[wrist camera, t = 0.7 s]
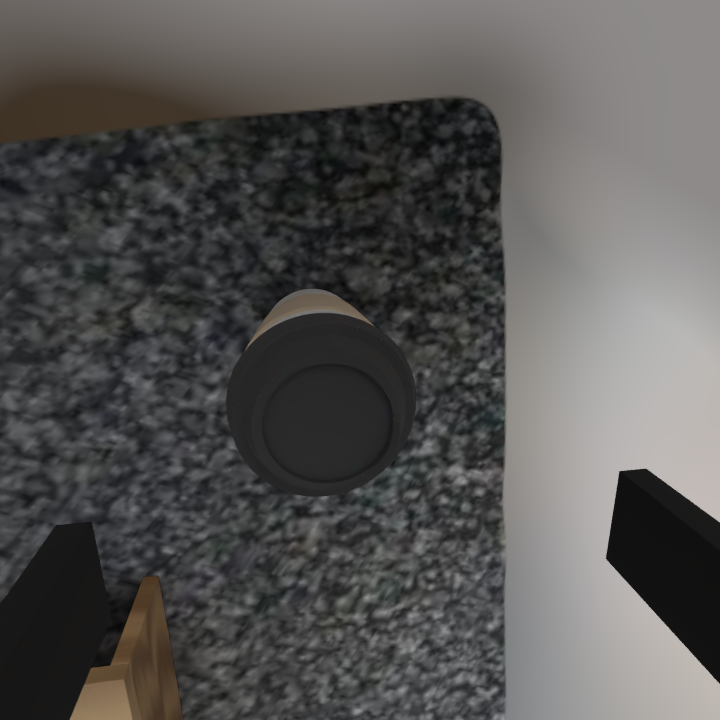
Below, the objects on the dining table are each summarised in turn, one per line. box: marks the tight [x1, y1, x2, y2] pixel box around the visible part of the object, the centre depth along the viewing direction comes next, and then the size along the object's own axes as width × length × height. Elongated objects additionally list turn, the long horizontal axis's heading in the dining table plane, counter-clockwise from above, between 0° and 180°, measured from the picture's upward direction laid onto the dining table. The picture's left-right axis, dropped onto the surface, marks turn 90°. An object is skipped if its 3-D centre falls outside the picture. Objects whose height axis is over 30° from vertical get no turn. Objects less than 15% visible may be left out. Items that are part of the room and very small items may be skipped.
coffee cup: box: [226, 289, 416, 496], centre depth 29 cm, size 9×9×15 cm
